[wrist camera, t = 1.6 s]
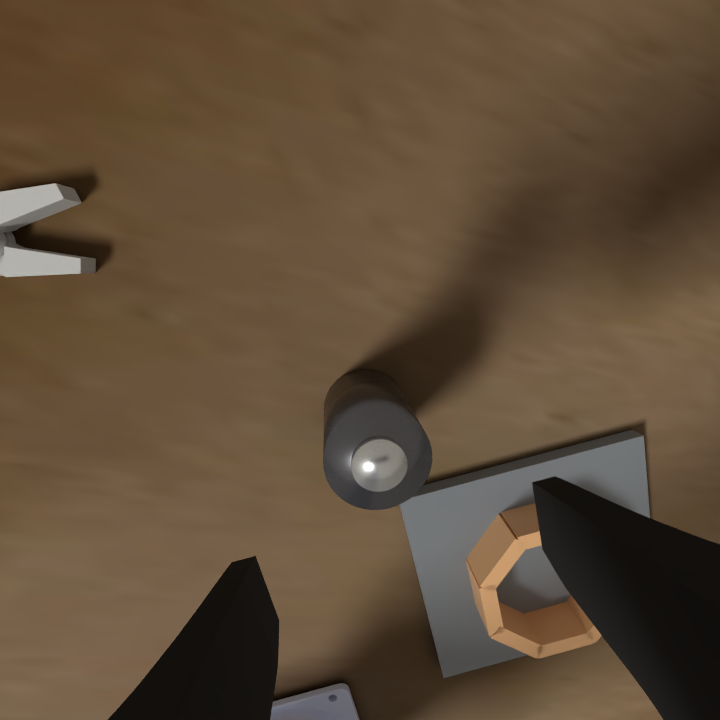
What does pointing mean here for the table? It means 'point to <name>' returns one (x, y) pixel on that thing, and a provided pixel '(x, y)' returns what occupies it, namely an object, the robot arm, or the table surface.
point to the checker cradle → (510, 553)
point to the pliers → (27, 207)
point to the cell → (373, 442)
